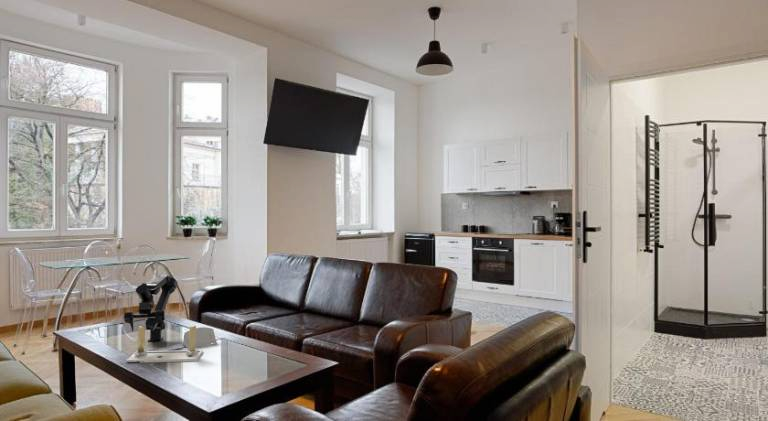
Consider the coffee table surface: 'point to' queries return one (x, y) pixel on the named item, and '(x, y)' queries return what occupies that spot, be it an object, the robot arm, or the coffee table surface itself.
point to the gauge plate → (173, 352)
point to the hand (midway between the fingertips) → (142, 330)
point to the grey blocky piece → (201, 337)
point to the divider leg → (141, 342)
